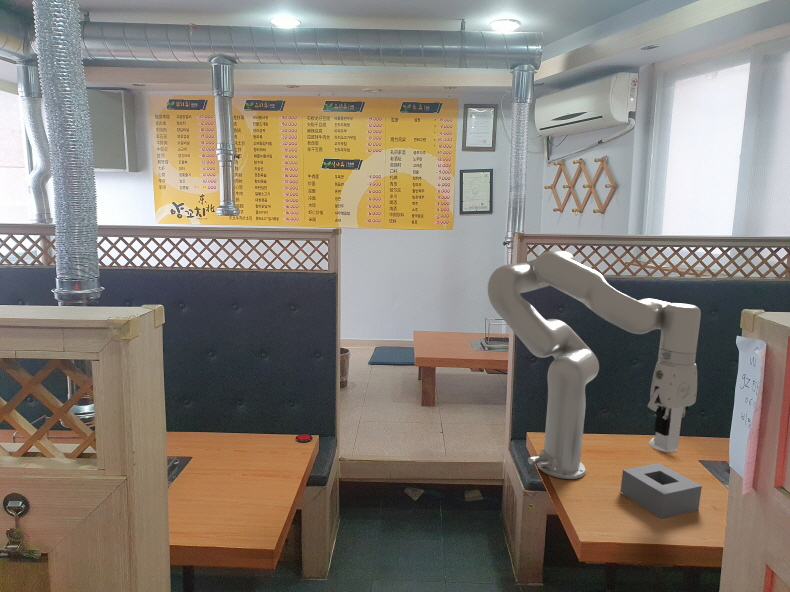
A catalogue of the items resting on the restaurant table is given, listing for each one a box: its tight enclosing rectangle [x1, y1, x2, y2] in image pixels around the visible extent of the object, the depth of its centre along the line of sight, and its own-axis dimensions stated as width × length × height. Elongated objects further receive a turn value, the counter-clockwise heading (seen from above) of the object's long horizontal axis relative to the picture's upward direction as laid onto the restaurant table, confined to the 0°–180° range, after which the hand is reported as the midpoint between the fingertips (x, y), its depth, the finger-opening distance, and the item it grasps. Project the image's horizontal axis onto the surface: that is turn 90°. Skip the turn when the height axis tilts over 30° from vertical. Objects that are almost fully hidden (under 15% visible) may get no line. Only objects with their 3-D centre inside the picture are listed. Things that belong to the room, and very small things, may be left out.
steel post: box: [654, 407, 683, 451], centre depth 123 cm, size 4×4×13 cm
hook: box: [648, 437, 678, 453], centre depth 156 cm, size 8×12×7 cm
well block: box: [619, 462, 703, 520], centre depth 125 cm, size 12×12×6 cm
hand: (667, 431), depth 123 cm, fingers closed on steel post, 3 cm apart
